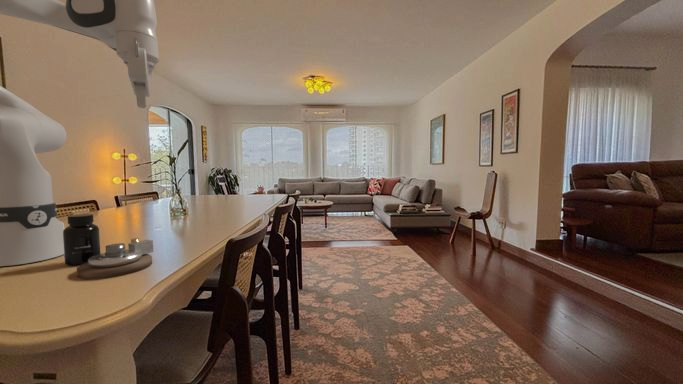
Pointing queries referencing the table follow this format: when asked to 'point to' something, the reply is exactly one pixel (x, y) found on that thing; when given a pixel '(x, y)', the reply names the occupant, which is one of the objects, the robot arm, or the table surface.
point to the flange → (121, 254)
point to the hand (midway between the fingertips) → (141, 107)
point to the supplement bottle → (80, 239)
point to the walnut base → (114, 268)
